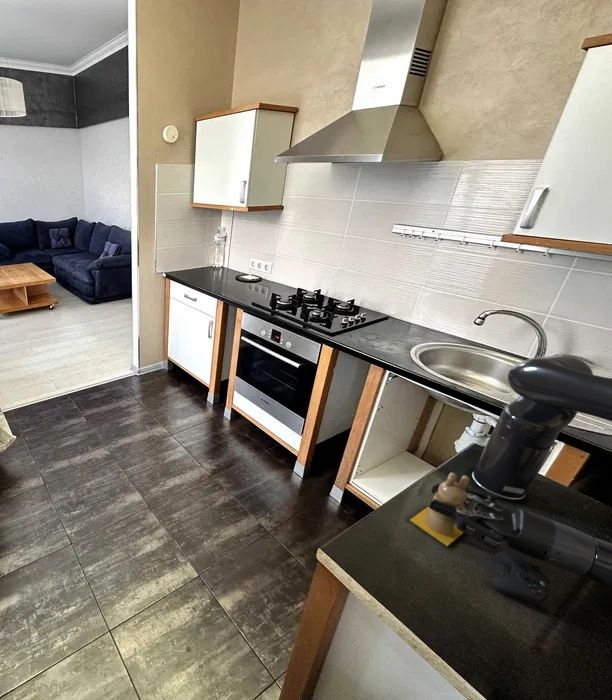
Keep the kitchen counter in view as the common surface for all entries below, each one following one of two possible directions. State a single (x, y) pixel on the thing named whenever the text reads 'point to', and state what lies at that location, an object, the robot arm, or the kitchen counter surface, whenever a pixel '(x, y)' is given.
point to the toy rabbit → (450, 495)
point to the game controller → (522, 580)
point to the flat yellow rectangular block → (441, 537)
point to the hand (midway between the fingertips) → (432, 495)
